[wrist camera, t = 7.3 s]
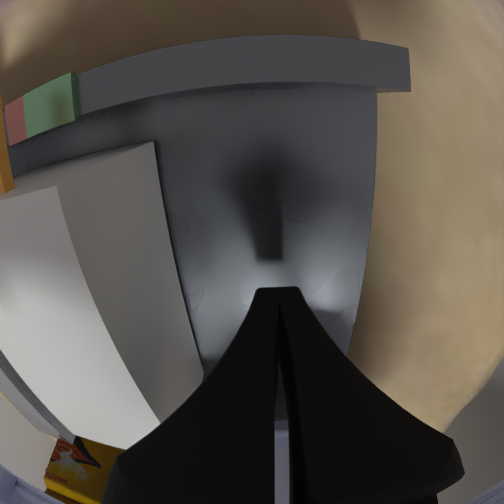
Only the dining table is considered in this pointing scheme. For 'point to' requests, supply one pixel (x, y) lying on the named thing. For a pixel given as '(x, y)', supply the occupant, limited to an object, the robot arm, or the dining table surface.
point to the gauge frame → (232, 171)
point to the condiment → (79, 470)
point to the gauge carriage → (94, 293)
